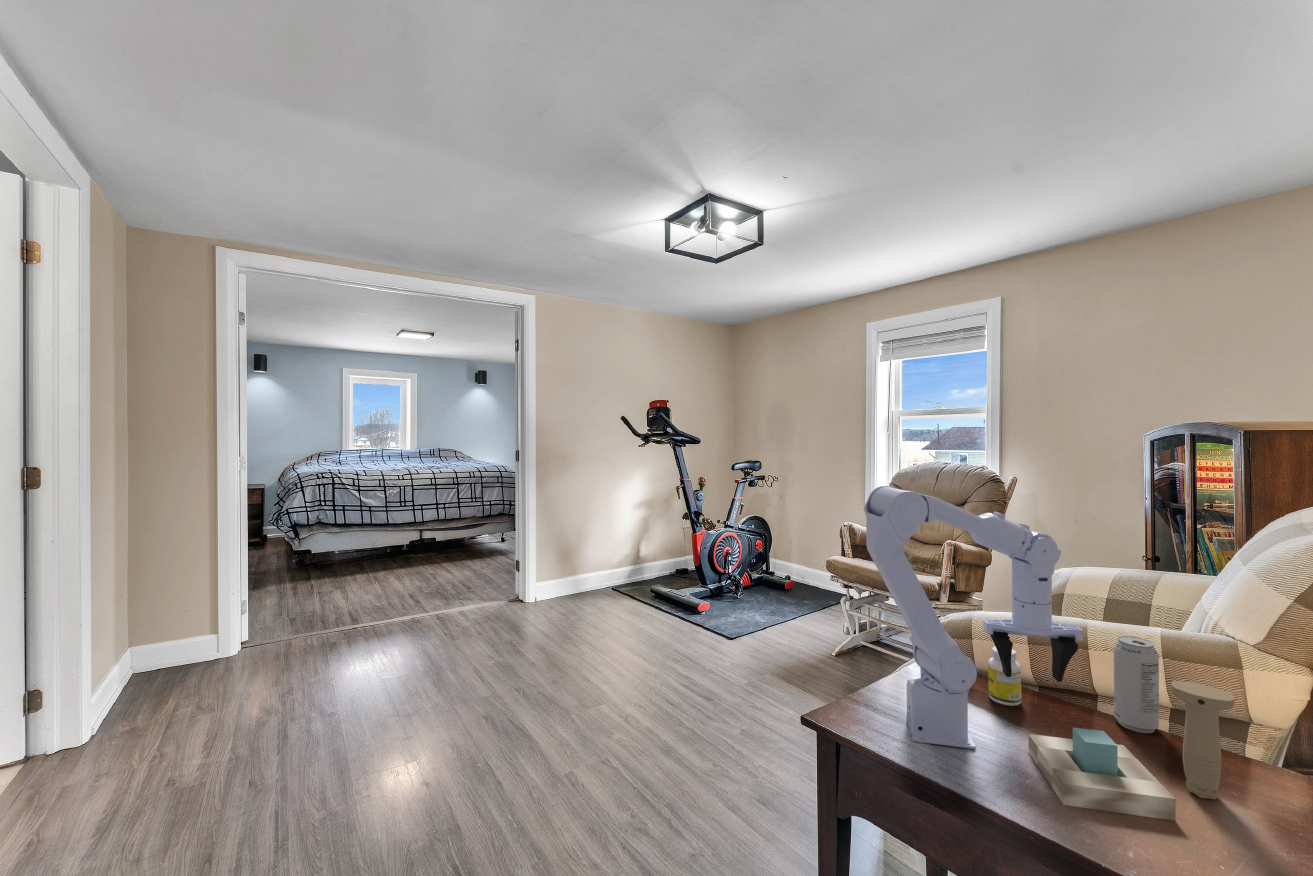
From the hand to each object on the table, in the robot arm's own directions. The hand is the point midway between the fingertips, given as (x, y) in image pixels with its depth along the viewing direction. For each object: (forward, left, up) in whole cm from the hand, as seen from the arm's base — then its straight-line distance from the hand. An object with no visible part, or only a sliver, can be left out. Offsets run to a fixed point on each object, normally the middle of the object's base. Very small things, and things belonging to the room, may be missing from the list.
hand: (1031, 677), depth 97 cm
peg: (+4, -14, -10) cm, 17 cm away
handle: (+17, -13, -10) cm, 23 cm away
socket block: (+4, -14, -9) cm, 17 cm away
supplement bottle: (-1, +11, -10) cm, 15 cm away
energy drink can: (+18, +6, -10) cm, 21 cm away
